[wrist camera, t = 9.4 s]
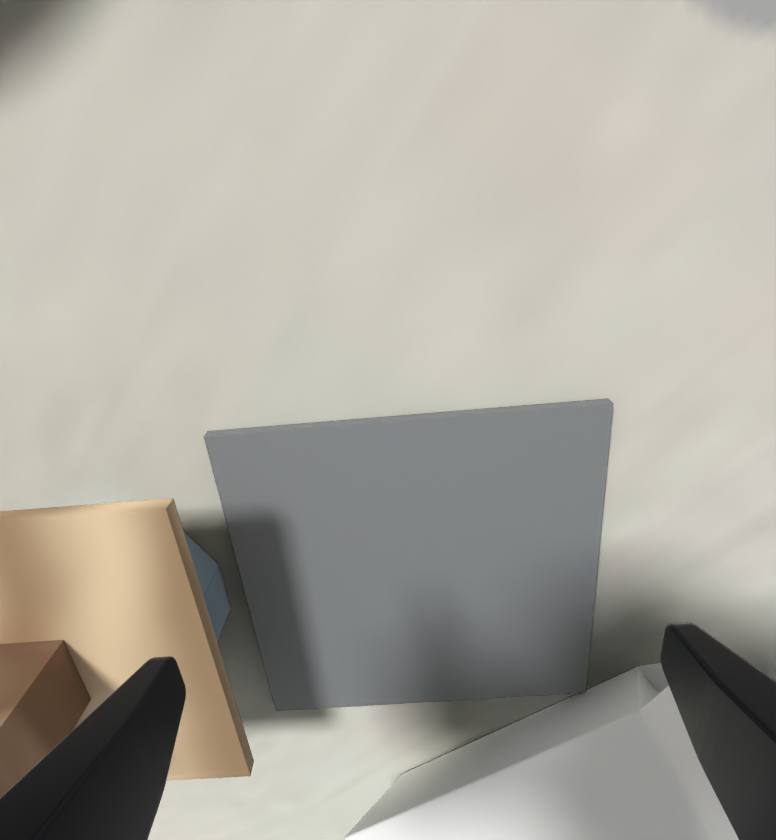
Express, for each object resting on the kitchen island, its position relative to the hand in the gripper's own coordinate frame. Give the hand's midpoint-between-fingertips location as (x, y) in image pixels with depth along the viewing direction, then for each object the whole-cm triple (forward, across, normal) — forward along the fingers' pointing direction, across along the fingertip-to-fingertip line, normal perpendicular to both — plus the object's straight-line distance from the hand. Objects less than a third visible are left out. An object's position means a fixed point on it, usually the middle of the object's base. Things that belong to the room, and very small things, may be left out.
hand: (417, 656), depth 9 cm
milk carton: (+7, +2, +24) cm, 25 cm away
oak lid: (+7, +14, +7) cm, 17 cm away
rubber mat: (+12, 0, +8) cm, 15 cm away
